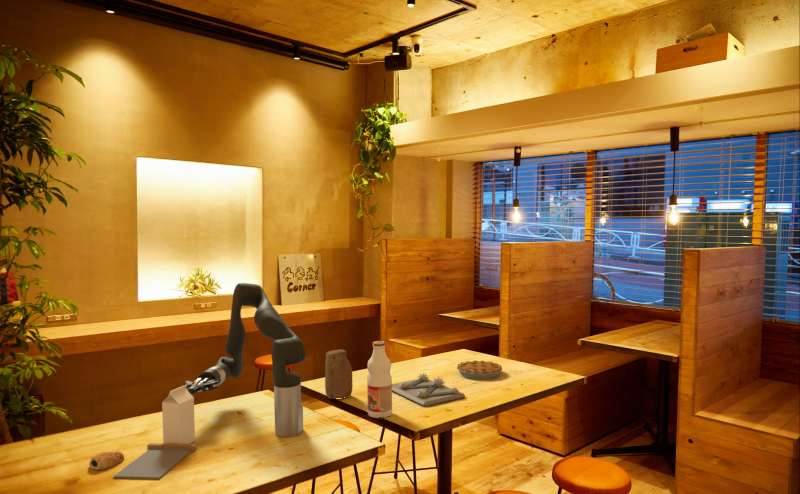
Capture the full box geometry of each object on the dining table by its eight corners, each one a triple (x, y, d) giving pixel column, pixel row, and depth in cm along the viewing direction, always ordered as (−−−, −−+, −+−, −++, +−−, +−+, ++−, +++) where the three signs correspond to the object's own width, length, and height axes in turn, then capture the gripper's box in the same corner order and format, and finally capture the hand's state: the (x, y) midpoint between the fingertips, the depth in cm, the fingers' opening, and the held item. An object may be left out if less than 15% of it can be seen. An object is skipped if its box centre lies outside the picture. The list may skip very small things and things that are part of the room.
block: (330, 401, 227) (329, 353, 226) (324, 396, 233) (323, 350, 233) (354, 397, 232) (353, 350, 231) (348, 393, 238) (347, 347, 237)
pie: (506, 380, 255) (506, 369, 254) (459, 381, 255) (458, 370, 255) (498, 368, 276) (498, 358, 276) (454, 368, 277) (454, 358, 277)
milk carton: (195, 441, 187) (193, 386, 186) (180, 449, 180) (178, 392, 179) (178, 438, 189) (176, 384, 188) (163, 446, 183) (161, 390, 182)
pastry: (116, 456, 176) (116, 445, 175) (129, 461, 172) (128, 449, 172) (87, 467, 168) (86, 455, 167) (99, 473, 164) (99, 460, 164)
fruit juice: (391, 418, 206) (390, 344, 205) (366, 418, 206) (365, 344, 205) (392, 410, 215) (391, 339, 214) (368, 410, 215) (367, 339, 214)
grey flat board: (196, 449, 180) (196, 444, 180) (162, 479, 159) (162, 473, 159) (149, 448, 181) (149, 443, 181) (110, 477, 160) (110, 471, 160)
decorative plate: (385, 390, 243) (385, 374, 243) (425, 382, 255) (425, 367, 254) (424, 409, 218) (424, 391, 217) (466, 399, 229) (466, 382, 229)
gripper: (195, 368, 211) (172, 381, 193) (228, 368, 209) (208, 381, 192) (195, 387, 211) (172, 402, 194) (228, 388, 210) (208, 402, 192)
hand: (190, 391), depth 193 cm, fingers closed
